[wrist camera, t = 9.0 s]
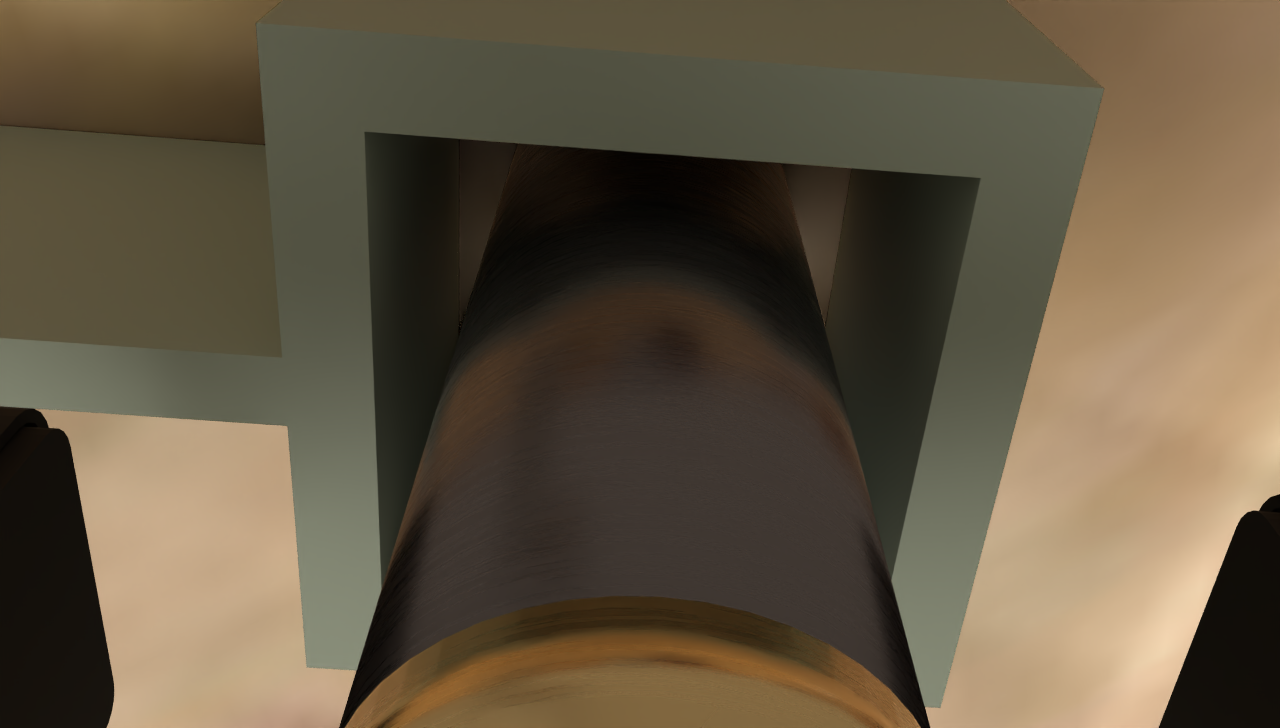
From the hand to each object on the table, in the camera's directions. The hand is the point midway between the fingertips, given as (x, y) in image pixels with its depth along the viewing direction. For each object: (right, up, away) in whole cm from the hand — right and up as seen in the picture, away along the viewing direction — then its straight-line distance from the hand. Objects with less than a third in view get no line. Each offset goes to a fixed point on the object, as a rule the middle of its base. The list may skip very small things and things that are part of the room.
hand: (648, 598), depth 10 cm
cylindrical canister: (0, +4, +8) cm, 9 cm away
